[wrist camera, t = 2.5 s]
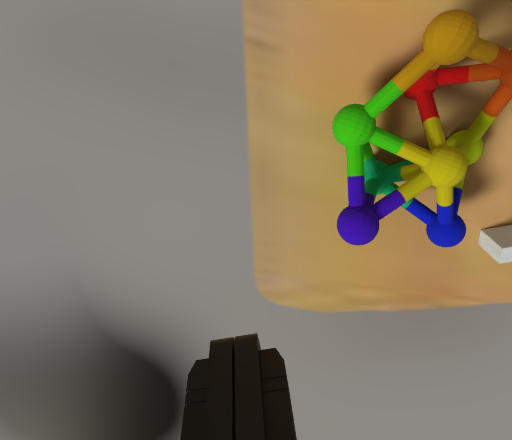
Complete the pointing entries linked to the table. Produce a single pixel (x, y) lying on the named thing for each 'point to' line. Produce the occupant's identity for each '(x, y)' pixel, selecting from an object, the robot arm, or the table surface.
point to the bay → (497, 243)
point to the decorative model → (441, 151)
